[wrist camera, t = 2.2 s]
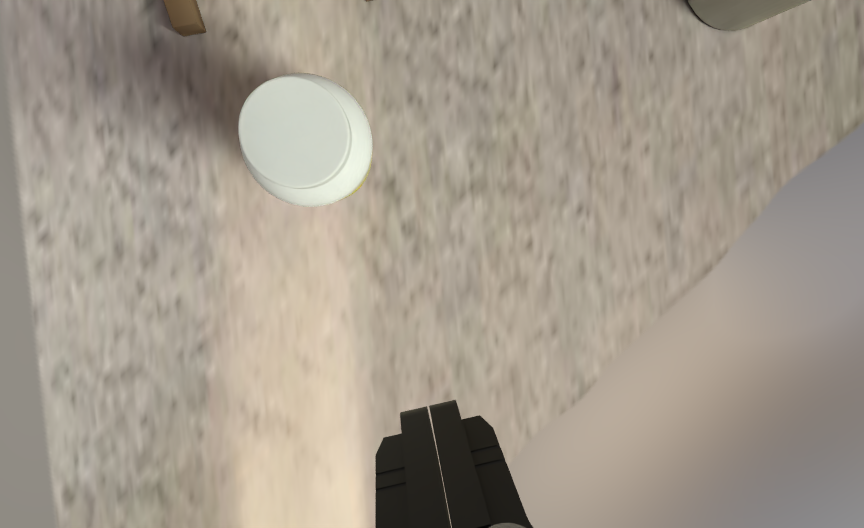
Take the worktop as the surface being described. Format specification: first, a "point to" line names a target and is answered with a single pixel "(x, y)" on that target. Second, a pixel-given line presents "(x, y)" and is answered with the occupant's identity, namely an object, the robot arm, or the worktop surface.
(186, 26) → the wall board
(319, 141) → the supplement bottle
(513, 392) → the worktop surface
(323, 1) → the worktop surface
